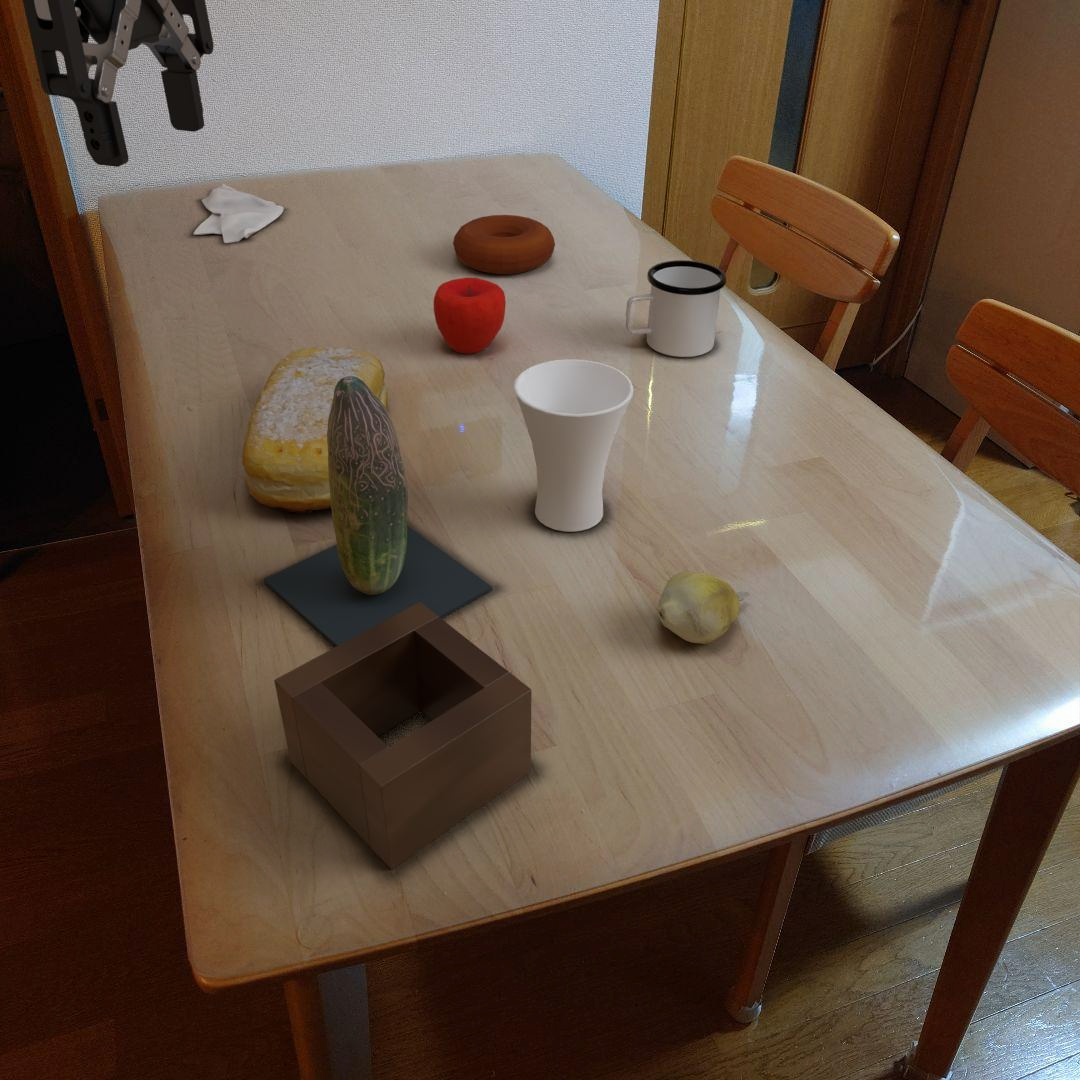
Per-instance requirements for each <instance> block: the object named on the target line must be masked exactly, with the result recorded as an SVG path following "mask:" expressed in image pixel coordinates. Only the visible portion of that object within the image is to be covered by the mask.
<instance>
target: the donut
mask: <svg viewBox="0 0 1080 1080" xmlns="http://www.w3.org/2000/svg"><path fill="white" fill-rule="evenodd" d="M452 245H453V249H454V254H455V256H456V257H457V259H459V261H460V262H461V263H462V264H464V265H465V266H467V267H469V268H471V269H474V270H476V271H478V272H483V273H486V274H495V275H513V274H521V273H525V272H530V271H532V270H536V269H538V268H539V267H542V266H543V265H544V264H546V263H547V262H548V261H549V260H550V259H551V258H552V255H553V253H554V251H555V247H556V242H555V238H554V235H553V233H552V231H551V230H550V229H549V227H548V226H546V225H545V224H543V223H541V222H540V221H538V220H537V219H533V218H530V217H527V216H522V215H515V214H514V215H513V214H493V215H487V216H481V217H477V218H475V219H474V218H473V219H472V220H470V221H468V222H466V223H465V224H463V225H460V227H459V229H458V230H457V231H456V233H455V234H454V236H453V241H452Z"/></svg>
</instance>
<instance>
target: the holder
mask: <svg viewBox="0 0 1080 1080" xmlns="http://www.w3.org/2000/svg"><path fill="white" fill-rule="evenodd" d="M273 682H274V686H275V687H274V688H275V691H276V696H277V697H276V698H277V701H278V706H279V711H280V716H281V722H282V727H283V731H284V737H285V741H286V747H287V751H288V756H289V761H290V762H289V763H291V764H292V766H294V768H296V770H297V771H298V772H299V773H300V774H301V776H303V777H304V778H305V779H306V780H307V781H308V782H309V784H311V785H312V786H313V788H314V789H315V790H316V791H317V792H318V794H320V795H321V797H323V799H324V800H325V801H326V802H327V803H328V804H329V805H330V806H331V807H332V808H333V809H334V811H336V813H338V815H339V816H341V818H342V819H343V820H344V821H345V822H346V823H347V824H348V825H349V826H350V827H351V828H352V830H353V831H354V832H355V833H356V834H357V835H358V836H359V837H360V838H361V839H362V840H363V841H364V842H365V843H366V844H367V846H368V847H369V848H370V849H372V851H373V852H374V853H375V854H376V856H377V857H378V858H380V860H381V861H382V862H383V863H384V864H385V865H386V866H387V867H388V868H389V869H390V870H393V869H394V868H396V867H397V866H399V865H400V864H402V863H403V862H404V861H406V860H407V859H409V858H410V857H411V856H413V855H414V854H416V853H417V852H419V851H420V850H421V849H423V848H424V847H426V846H427V845H429V843H431V842H433V841H434V840H436V839H437V838H438V837H440V836H441V835H443V834H444V833H446V832H447V831H448V830H449V829H451V828H453V827H454V826H456V825H457V824H459V823H460V822H461V821H463V820H464V819H465V818H467V817H468V816H470V815H471V814H473V813H474V812H475V811H476V810H478V809H480V808H481V807H482V806H483V805H485V804H486V803H488V802H489V801H490V800H493V799H494V798H495V797H497V796H498V795H499V794H501V793H502V792H504V791H505V790H506V789H508V788H510V787H511V786H512V785H514V784H515V783H516V782H518V781H520V779H522V778H524V777H525V776H526V775H528V774H529V773H531V771H532V689H531V688H530V687H529V686H528V685H527V684H525V683H524V682H522V681H521V680H520V679H519V678H517V677H516V676H515V675H514V674H512V673H511V672H510V671H508V670H507V669H506V668H505V667H503V666H502V665H501V664H500V663H498V662H497V661H496V660H494V658H492V657H491V656H490V655H488V654H487V653H486V652H485V651H483V650H482V649H481V648H479V647H478V646H477V645H475V644H474V643H473V642H472V641H471V640H469V639H468V638H467V637H466V636H464V635H463V634H462V633H460V632H459V631H458V630H457V629H455V628H454V627H453V626H452V625H450V624H449V623H448V622H446V621H445V620H444V619H443V618H440V617H438V616H437V615H436V614H435V613H434V612H432V611H431V610H430V609H428V608H427V607H426V606H425V605H423V604H422V603H421V602H419V603H417V604H415V605H413V606H411V607H409V608H408V609H406V610H404V611H402V612H400V613H398V614H396V615H395V616H393V617H391V618H389V619H387V620H385V621H383V622H381V623H380V624H378V625H376V626H374V627H372V628H370V629H368V630H367V631H365V632H363V633H361V634H359V635H357V636H355V637H354V638H352V639H350V640H348V641H346V642H344V643H342V644H340V645H339V646H337V647H335V646H334V647H333V648H331V649H329V650H327V651H325V652H324V653H322V654H320V655H318V656H316V657H315V658H312V659H310V660H309V661H307V662H305V663H303V664H301V665H300V666H299V665H298V667H295V668H294V669H292V670H290V671H288V672H286V673H284V674H283V675H281V676H279V677H277V678H275V679H274V681H273ZM419 712H422V713H423V714H424V715H425V716H426V717H427V718H428V719H429V720H430V721H429V722H427V723H426V724H424V725H423V726H421V727H419V728H418V729H416V730H415V731H413V732H411V733H410V734H408V735H406V736H405V737H404V738H402V739H400V740H398V741H396V742H395V743H393V744H392V745H391V746H388V745H387V744H386V743H385V742H384V740H382V739H381V738H380V736H381V735H383V734H385V733H386V732H388V731H390V730H391V729H393V728H394V727H396V726H397V725H399V724H401V723H403V722H404V721H406V720H408V719H409V718H411V717H413V716H414V715H415V714H417V713H419Z"/></svg>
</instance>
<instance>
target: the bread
mask: <svg viewBox="0 0 1080 1080" xmlns="http://www.w3.org/2000/svg"><path fill="white" fill-rule="evenodd" d="M347 376H354V377H357V378H359V379H361V380H362V381H364V382H365V384H366V385H367V386H368V387H369V389H370V390H371V391H372V393H373V394H374V395H375V396H376V397H377V398H378V399H379V400H380V401H381V402H382V404H383V405H384V407H385V408H386V409H387V406H388V389H387V385H386V382H385V377H386V376H385V370H384V366H383V364H382V362H381V360H380V358H379V357H377V356H376V355H375V354H372V353H369V352H367V351H364V350H360V349H356V348H348V347H337V346H336V347H335V346H329V345H326V346H312V347H305V348H304V347H303V348H299V349H297V350H292V351H291V352H290V353H288V354H287V355H286V356H284V357H283V358H282V359H281V360H280V361H279V362H278V363H277V364H276V365H275V366H274V368H273V369H272V370H271V371H270V374H269V375H268V378H267V380H266V383H265V385H264V387H263V388H262V389H261V391H260V392H259V395H258V396H257V399H256V401H255V403H254V406H253V410H252V411H251V415H250V418H249V421H248V424H247V431H246V434H245V441H244V443H243V448H242V454H241V455H242V456H241V461H242V466H243V475H244V476H243V477H244V482H245V486H246V488H247V491H248V493H249V495H251V496H252V498H254V500H256V501H257V502H258V503H259V504H261V505H263V506H267V507H270V508H273V509H277V510H280V511H282V512H283V511H284V512H289V513H290V512H291V513H302V514H305V513H306V514H310V513H311V512H313V511H314V510H327V509H332V508H331V499H330V487H329V474H328V444H327V430H328V418H329V414H330V410H331V406H332V403H333V396H334V390H335V386H336V384H337V383H338V382H339V381H340V379H342V378H344V377H347Z"/></svg>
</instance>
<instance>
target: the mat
mask: <svg viewBox="0 0 1080 1080" xmlns="http://www.w3.org/2000/svg"><path fill="white" fill-rule="evenodd" d="M263 583H264V584H265V585H267V586H268V587H269V589H270V590H272V591H273V593H275V594H276V595H278V596H279V597H280V598H281V599H282V600H283V601H284V602H285V603H287V604H288V605H289V606H290V607H291V608H292V609H293V610H294V611H295V612H296V613H297V614H299V615H300V617H302V618H303V619H304V620H305V621H306V622H307V623H308V624H310V625H311V627H313V628H314V629H315V630H316V631H317V632H318V633H320V635H322V636H323V637H324V638H325V639H326V640H327V641H328V642H330V643H331V644H332V645H333V646H334V648H335V647H337V646H339V645H340V644H342V643H344V642H346V641H348V640H350V639H352V638H354V637H355V636H357V635H359V634H361V633H363V632H365V631H367V630H368V629H370V628H372V627H374V626H376V625H378V624H380V623H381V622H383V621H385V620H387V619H389V618H391V617H393V616H395V615H396V614H398V613H400V612H402V611H404V610H406V609H408V608H409V607H411V606H413V605H415V604H417V603H419V602H421V603H422V604H423V605H425V606H426V607H427V608H428V609H430V610H431V611H432V612H434V613H435V614H436V615H437V616H438V617H440V618H441V619H443V618H445V617H447V616H448V615H450V614H453V613H454V612H456V611H458V610H459V609H461V608H463V607H465V606H466V605H469V604H470V603H472V602H474V601H475V600H477V599H479V598H481V597H483V596H485V595H487V594H489V593H491V592H492V591H493V586H492V585H491V584H489V583H487V582H486V581H485V580H483V579H482V578H481V577H480V576H478V575H477V574H475V572H473V571H471V570H470V569H469V568H468V567H465V566H464V565H463V564H461V562H459V561H457V560H456V559H455V558H453V557H452V556H451V555H450V554H448V553H446V552H445V551H443V550H442V549H441V548H440V547H438V546H436V545H435V544H433V543H432V541H430V540H428V539H427V538H426V537H424V536H423V535H421V534H420V533H419V532H417V531H416V530H414V529H413V528H411V526H409V525H407V546H406V553H405V559H404V563H403V567H402V570H401V573H400V575H399V577H398V578H397V580H396V582H395V583H394V584H393V585H392V586H391V587H390V588H389V589H388V590H387V591H385V592H383V593H381V594H377V595H368V594H365V593H363V592H361V591H359V590H357V589H356V588H354V587H353V586H352V585H351V583H350V582H349V580H348V578H347V577H346V574H345V572H344V570H343V568H342V565H341V562H340V559H339V554H338V549H337V544H335V545H333V546H330V547H328V548H326V549H324V550H322V551H320V552H318V553H316V554H313V555H311V556H309V557H307V558H305V559H303V560H301V561H298V562H296V563H294V564H292V565H290V566H288V567H286V568H283V569H281V570H279V571H276V572H275V573H272V574H271V575H269V576H267V577H264V578H263Z"/></svg>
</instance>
